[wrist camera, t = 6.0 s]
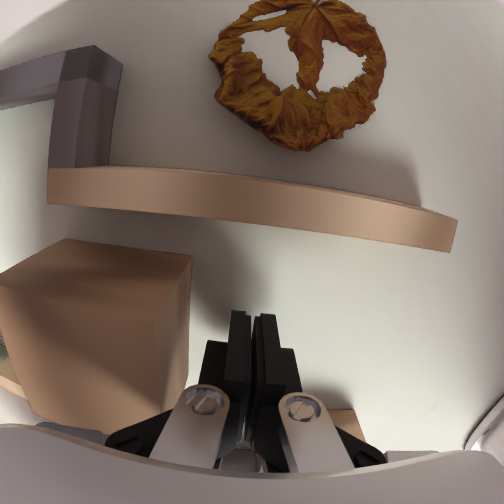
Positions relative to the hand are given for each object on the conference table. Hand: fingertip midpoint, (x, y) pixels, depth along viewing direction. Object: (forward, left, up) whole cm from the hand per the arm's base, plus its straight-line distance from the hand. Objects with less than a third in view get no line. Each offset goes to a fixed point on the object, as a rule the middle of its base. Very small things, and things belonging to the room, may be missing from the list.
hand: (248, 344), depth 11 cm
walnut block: (+5, 0, -1) cm, 6 cm away
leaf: (-1, -11, -2) cm, 11 cm away
